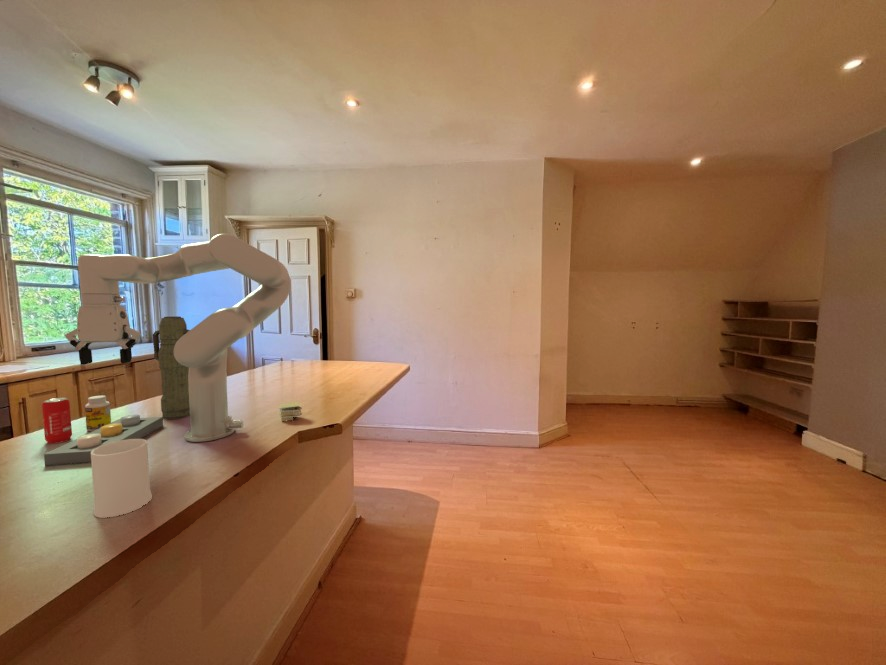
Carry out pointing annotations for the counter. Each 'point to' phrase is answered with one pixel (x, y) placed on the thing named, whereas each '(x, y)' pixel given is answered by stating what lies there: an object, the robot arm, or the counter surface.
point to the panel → (83, 455)
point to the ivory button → (89, 441)
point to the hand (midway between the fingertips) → (106, 363)
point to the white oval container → (120, 477)
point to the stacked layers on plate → (290, 411)
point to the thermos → (172, 368)
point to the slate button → (130, 420)
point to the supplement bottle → (97, 412)
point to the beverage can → (57, 420)
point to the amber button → (111, 429)
